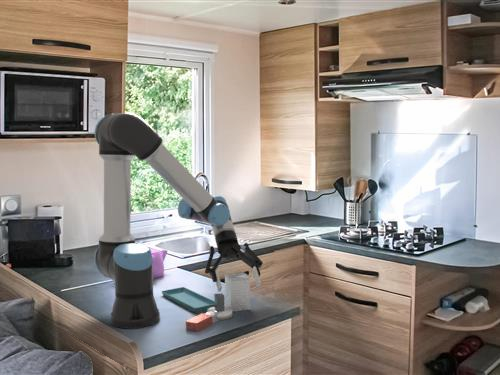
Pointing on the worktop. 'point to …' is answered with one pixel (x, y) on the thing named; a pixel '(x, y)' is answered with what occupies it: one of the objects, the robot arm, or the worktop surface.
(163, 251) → the pink pitcher
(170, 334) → the worktop surface
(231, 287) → the tall white box
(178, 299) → the teal serving tray
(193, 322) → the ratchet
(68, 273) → the worktop surface
